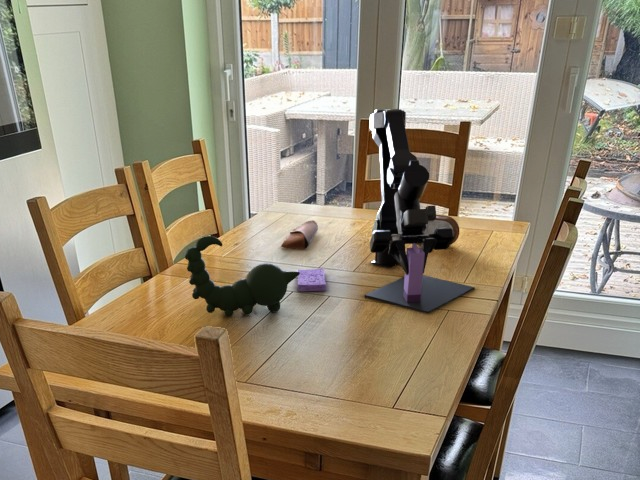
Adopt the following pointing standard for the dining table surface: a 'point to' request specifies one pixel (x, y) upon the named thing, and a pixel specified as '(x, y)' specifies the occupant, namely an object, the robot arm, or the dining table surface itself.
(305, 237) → the sunglasses case
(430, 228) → the tin
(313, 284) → the sponge
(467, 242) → the dining table surface
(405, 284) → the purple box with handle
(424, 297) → the placemat
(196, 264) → the toy figurine
